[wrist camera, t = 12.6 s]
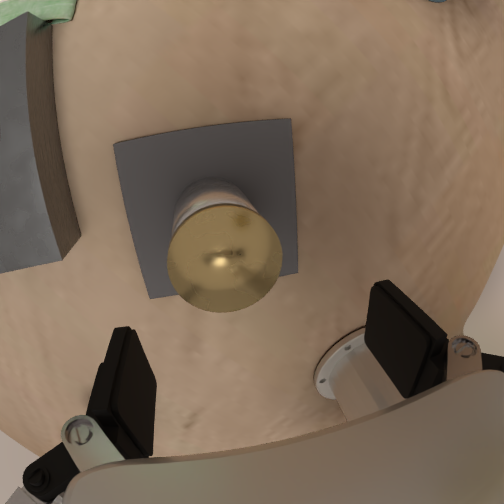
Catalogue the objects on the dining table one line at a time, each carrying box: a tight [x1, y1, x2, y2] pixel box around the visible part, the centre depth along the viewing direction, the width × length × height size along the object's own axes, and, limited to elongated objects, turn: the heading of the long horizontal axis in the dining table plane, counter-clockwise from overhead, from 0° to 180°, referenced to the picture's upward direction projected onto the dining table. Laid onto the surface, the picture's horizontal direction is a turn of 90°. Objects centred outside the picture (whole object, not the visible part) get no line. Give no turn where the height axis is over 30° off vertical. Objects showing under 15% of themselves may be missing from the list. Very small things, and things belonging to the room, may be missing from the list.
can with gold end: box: [167, 177, 283, 313], centre depth 18 cm, size 6×6×8 cm
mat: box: [113, 119, 298, 299], centre depth 22 cm, size 13×13×1 cm
